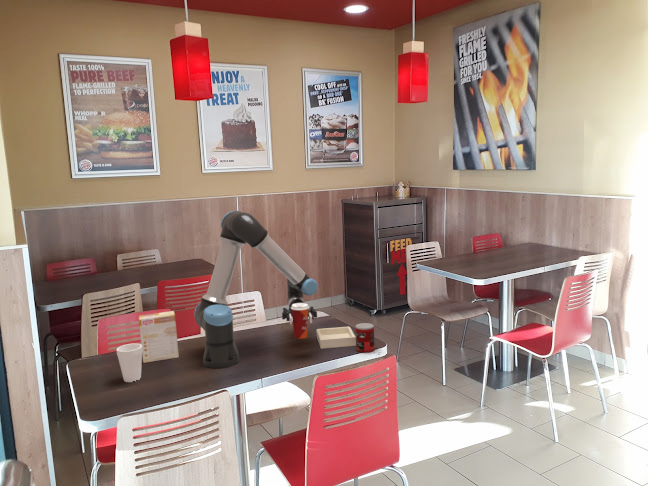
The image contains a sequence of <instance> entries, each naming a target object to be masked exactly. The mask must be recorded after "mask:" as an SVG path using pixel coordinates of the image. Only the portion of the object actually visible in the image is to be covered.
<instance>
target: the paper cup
mask: <svg viewBox="0 0 648 486" xmlns="http://www.w3.org/2000/svg"><path fill="white" fill-rule="evenodd" d="M309 307H310V306H309V304H308V303H305V302H304V303H295V304H292V307H291V309H292V326H293V327H292V329H293V337H294V338H295V339H296V340H299V339H300V340H301V339H307V338H308V334H309V333H308V331H309V330H308V329H309V327H308V325H309V317H308V308H309Z"/></svg>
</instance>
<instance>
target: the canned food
mask: <svg viewBox="0 0 648 486" xmlns="http://www.w3.org/2000/svg"><path fill="white" fill-rule="evenodd" d="M355 337H356V346H355V348H356V351H357V352H358V353H363V354H364V353H366V354H368V353H372V352H373V351H374V350H375V325H374V324H373V323H370V322H365V323H364V322H362V323H361V322H360V323H357V324H356V325H355Z"/></svg>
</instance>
